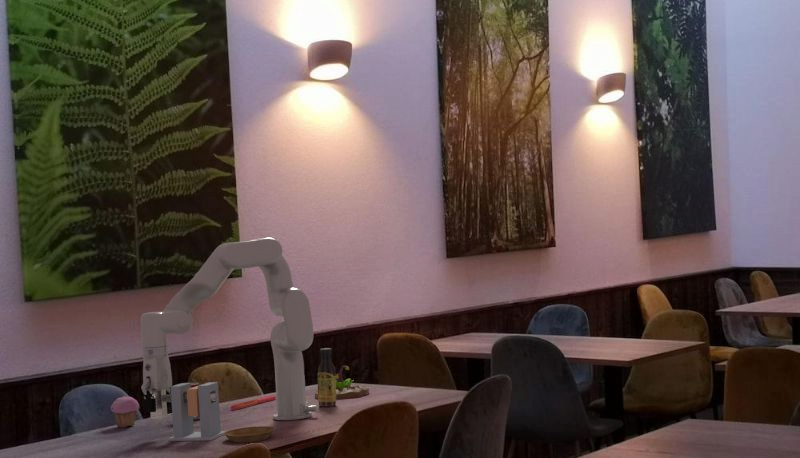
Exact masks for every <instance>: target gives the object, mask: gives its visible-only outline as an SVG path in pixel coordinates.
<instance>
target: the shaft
mask: <svg viewBox="0 0 800 458" xmlns="http://www.w3.org/2000/svg"><path fill="white" fill-rule="evenodd" d="M150 393H152V392H150ZM210 396H211V401H215V400H216V394H215V393H213V394H210ZM154 399H156V412H149V413H150V420H164V419H167V418H168V407H167V402H171V403H172V399H171V394H170V395H166V389H164V390H160V391H157V390H156V392H155V396H154ZM183 401H184V402H187V401H188V400H187V394H183Z"/></svg>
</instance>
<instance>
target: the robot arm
mask: <svg viewBox="0 0 800 458" xmlns="http://www.w3.org/2000/svg"><path fill="white" fill-rule="evenodd" d="M257 267H258V268H259V269H260V270H261V271H262V273H263V276H264V278H265V280H264V281H265V285H266V290H267V299H268V306H269V309H270V311H271V312H272V314H274V315H275V316H277V317H280V318H283V320H281V321H279V322H277V323H276V324H275V325H273V327H272V328H271V331H270V336H269V337H270V339H269V340H270V345H271V349H272V354H273V362H274V364H273V365H274V378H275V379H274V381H275V394H276V395H275V397H276V410H277V411H276V412H277V413H274V414H273V415H272V419H273V420H275V421H296V420H302V419H308V418H311V417H312V416H313V415H312V414H313V412H314V413H316V412H317V413H318V411H319V407H318V406H319V405H310V402H309V401H307V394H306V380H305V379H306V378H305V362H304V356H303V351H306V350H307V349H309V348H310V346H311V345H312V344H313V342H314V332H315V331H314V326H313V325H314V324H313V319H312V312H311V305H310V301H309V299H308V296H307V295H306V293H305V292H304V291H303V290H301V289H299V288H297V287H294V283H293V277H292V273H291V268H290V266H289V264H288V260H287V259H286V258H285V257H284V256H283V246H282V244H281V243H280V241H278V240H277V239H276V238H273V237H259V238H254V239H251V240H246V241H245V240H244V241H237V242H236V241H234V242H233V241H232V242H225V243H221V244H220V245H218V246H217V247H216V248H215V249H214V251H213V252H212V253H211V254H210V255H209V257H208V258H207V259H206V261H205V262H204V263H203V265H202V266H201V267H200V268H199V270H198V272H197V273H195V275H194V277H192V278H191V279H190V281H188V282H187V283H186V284H185V285H184V286H183V287H181V289H180V290H179V291H178V292H176V294H175V295H174V296H173V297H172V298H171V300H170V301H169V302H168V304H167V305H166V306H165V308H164V309H163V310H162V311H150V312H144V313H142V314H141V315H140V329H141V331H140V332H141V333H140V334H141V347H142V348H141V349H142V359H143V365H142V382H143V383H142V385H141V386H140V387H141V388H140V389H141V391H142V394H143V399H144V401H145V412H146V413H150V412H156V399H154V396H155V392H156V390H157V391H160V390H164V389H166V395H171V386H173V377H172V369H171V362H170V358H169V349H168V335H169V334H170V335H171V334H173V335H182V334H183V335H184V334H186V333H188V332H189V331H191V329H192V328H193V325H194V318H193V315H192V314H191V312H192V311H193V310H194V309H195V308H196V307H197V306H198V305H200V304H201V303H203V302H204V301H206V300H208V299H210V298H211V297H213V296H214V295H216V294H217V293H218V291H219V290H220V288H221V287H222V285H224V283H225V281H226V280H227V279H228V277H230V275H231V274H232V273H233V271H234V270H240V269H241V270H242V269H243V270H244V269H248V268H249V269H253V268H257ZM150 392H152V393H150ZM167 408H172V402H167Z"/></svg>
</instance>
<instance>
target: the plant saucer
mask: <svg viewBox="0 0 800 458" xmlns="http://www.w3.org/2000/svg"><path fill="white" fill-rule="evenodd" d="M274 432H275V427H272V426H264V425H262V426H261V425H260V426H248V427H247V426H246V427H239V428H235V429H229V430H226V432H225V433H224V434H225V435H224V436H225V437H226V438H227V439H228V440H229V441H230V442H232V443H253V442H254V443H255V442H259V441H265V440H267V439H269V438H270V437H271V435H272V434H273V433H274Z"/></svg>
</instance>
